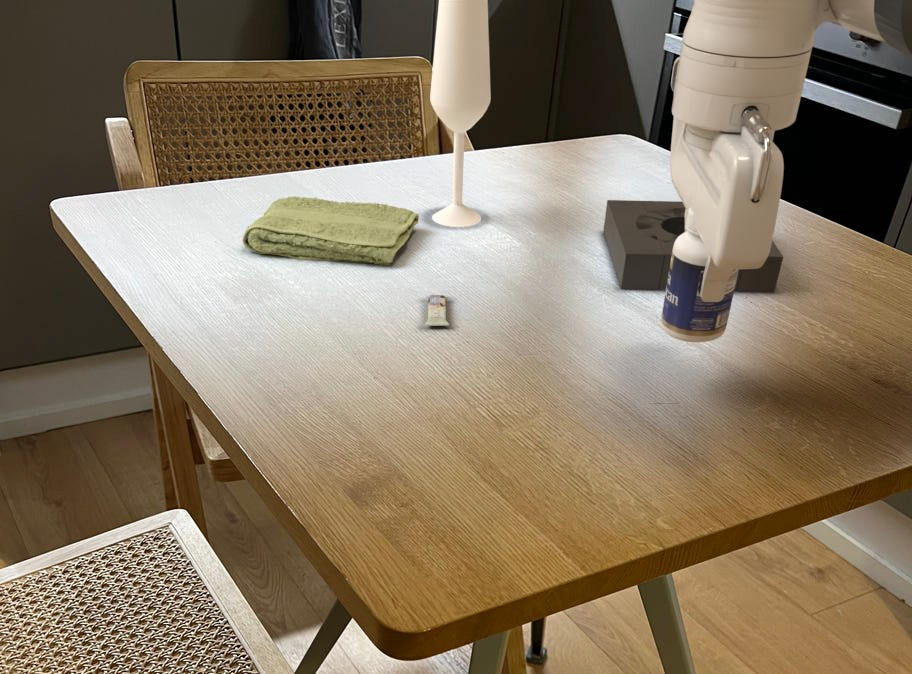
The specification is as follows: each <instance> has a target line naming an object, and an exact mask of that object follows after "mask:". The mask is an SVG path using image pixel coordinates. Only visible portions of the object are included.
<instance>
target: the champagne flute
mask: <svg viewBox="0 0 912 674" xmlns="http://www.w3.org/2000/svg"><path fill="white" fill-rule="evenodd" d="M436 17H437V18H436V28H435V29H436V30H435V38H434V39H435V40H434V50H433V59H432V60H433V62H432V69H431V71H432V72H431V83H430V92H429V93H430V94H429V99H430V101H429V102H430V104H431V107H432V109H433V111H434V112H435V114H436V115H437V117H438V118H439V119H440V121H442V123H443V124H444V125H445V126H446V128H448V129H449V130H450V131H452V132H453V163H452V192H451V193H452V194H451V196H452V197H451V199H452V201H451V203H450V204H448V205H447V206H445V207H444V208H441V209H440V210H439V211H437V212H435V213H434V214H433V215H432V217H431V218H432V221H433V222H435V223H437V224H438V225H442V226H445V227H453V228H465V227H470V226H474V225H477V224H479V223H480V222H481V221H482V217H481V216H480V215H479V214H478V213H477V212H476V211H474V210H472V209H471V208H469V207H468V206H466V205H465V204H463V187H464V161H465V160H464V158H465V133H466V132H468V131H469V130H470V129H472V128H473V127H474V126H475V125H476V123H478V122H479V121H480V120H481V119H482V118H483V116H484V115H485V113H486V112H487V111H488V108H489V106H490V104H491V99H492V98H491V94H492V93H491V66H490V65H491V64H490V35H489V34H490V32H489V30H490V29H489V3H488V0H438V7H437V16H436Z"/></svg>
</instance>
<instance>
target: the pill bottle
mask: <svg viewBox="0 0 912 674" xmlns="http://www.w3.org/2000/svg"><path fill="white" fill-rule="evenodd" d="M686 229H687V230H688V231H687V232H685V233H683V234H681V235H680V236H679V237H678V238H677V239H676V241H675V243H674V246H673V251H672V256H671V262H670V268H669V275H668V281H667V286H666V290H665V293H664V294H665V295H664V300H663V306H662V311H661V319H660V326H661V328H662V331H663V332H664V333H665V334H666V335H668V336H670V337H671V338H673V339H676V340H678V341H683V342H687V343H706V342H712V341H714V340H717V339H719V338H720V337H722V336H723V335H724V334H725V332H726V329H727V325H728V321H729V317H730V313H731V307H732V303H733V299H734V298H733V297H734V294H735V292H734V289H735V284H736V280H737V275H738V270H739V269H734V270H733V272H732V274H731V276H730V278H729V280H728V281H727V286H726V291H725V295H724V298H723V300H721V301H720V302H704V301H703V300H702V299H701V297H700V294H699V292H698V286H699V281H700V276H701V272H704V270H705V267H706V263H707V260H708V258H707V256H706V254H707V249H706V247H705V245H704V243H703V241H702V239H701V237H700V235H699V233H698V231H697V229H696V227H695V225H694V222H693V212H692V210H691V208H689V210H688V216H687V220H686Z"/></svg>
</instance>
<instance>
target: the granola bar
mask: <svg viewBox="0 0 912 674" xmlns="http://www.w3.org/2000/svg"><path fill="white" fill-rule="evenodd" d="M449 298H450V297H447V296H445V295H441V294H430V295H428V296H427V297H426V300H427V301H428V302H427V321H426V322H425V323H424V326H429V327H433V326H435V327H445V326H450V323H449V322H448V321H447V305H446V304H447V303H446V302H447V301H448V300H449Z"/></svg>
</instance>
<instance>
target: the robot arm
mask: <svg viewBox="0 0 912 674" xmlns="http://www.w3.org/2000/svg"><path fill="white" fill-rule="evenodd" d="M824 23H825V24H826V23H830V24H833V25H837V26H840V27H843V28H845V29H846V30H848V31H850V32H852V33H854V34H858V35H860V36H864V37H867V38H869V39H872V40H876V41H878V42H881V43H885V44H887V45H888V46H889V47H891V48H893V49H895V50H896V51H898V52H901V53H902V54H904V55H905V56H908V57H909V58H912V0H693V4H692V9H691V12H690V15H689V18H688V20H687V22H686V25H685V27H684V30H683V34H682V38H681V45H680V52H679V56H678V57H677V58H676V59H675V60H674V62H673V66H672V73H671V81H670V87H671V90H672V92H673V99H672V105H671V114H672V116H673V120H672V132H671V143H670V154H669V155H670V157H669V159H670V160H669V168H670V169H669V171H670V180H671V183H672V185H673V187H674V189H675V190H676V193H677V195H678V197H679V198H680V200H681V202H683V204H684V206H685V208H686V210H685V232H687V231H688V230H687V229H686V220H687V216H688V210H689V208H691V210H692V212H693V222H694V225H695V227H696V229H697V231H698V233H699V235H700V237H701V239H702V241H703V243H704V245H705V247H706V249H707V254H706V256H707V258H708V260H707V263H706V267H705V270H704V272H701V276H700V281H699V286H698V292H699V294H700V297H701V299H702V300H703V301H704V302H720V301H721V300H723V298H724V295H725V291H726V286H727V281H728V280H729V278H730V276H731V274H732V272H733V270H734V269H757V268H760V267H762V265H763V264H764V263H765V261H766V259H767V257H768V255H769V253H770V249H771V244H772V241H773V239H774V234H775V228H776V224H777V218H778V213H779V206H780V202H781V195H782V190H783V189H782V188H783V181H784V170H785V164H784V157H783V153H782V151H781V150H780V149H779V147H778V146H777V145H776V144H775V142H774V137H775V132H776V131H779V130H784V129H785V128H788V127H791V126H792V125H793V124H794V123H795V122H796V120H797V117H798V116H797V115H798V111H799V107H800V103H801V98H802V93H803V89H804V86H805V82H806V81H805V80H806V77H807V72H808V69H809V68H808V67H809V63H810V59H811V54H812V51H813V47H814V46H813V45H814V41H815V34H816V31H817V29H818V28H819V27H820V26H821V25H823V24H824Z"/></svg>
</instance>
